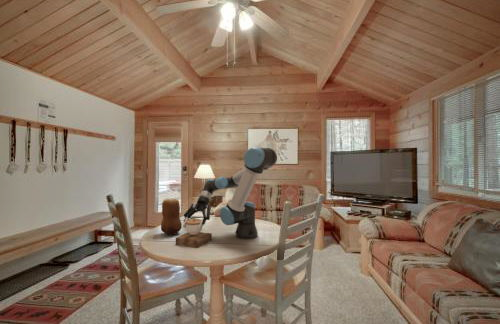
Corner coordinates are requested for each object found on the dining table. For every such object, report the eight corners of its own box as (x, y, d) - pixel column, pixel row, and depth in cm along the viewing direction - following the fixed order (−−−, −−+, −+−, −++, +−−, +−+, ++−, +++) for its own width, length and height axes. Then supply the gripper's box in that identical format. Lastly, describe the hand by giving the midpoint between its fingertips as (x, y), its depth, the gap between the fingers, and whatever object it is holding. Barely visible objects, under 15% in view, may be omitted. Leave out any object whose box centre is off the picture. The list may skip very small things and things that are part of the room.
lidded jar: (198, 236, 156) (198, 220, 156) (182, 235, 158) (182, 220, 158) (205, 231, 167) (205, 217, 166) (189, 230, 169) (189, 216, 169)
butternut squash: (174, 230, 189) (174, 196, 189) (185, 233, 180) (185, 198, 180) (156, 234, 178) (156, 198, 178) (167, 238, 170) (167, 200, 169)
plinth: (211, 239, 167) (211, 233, 167) (198, 247, 152) (198, 240, 152) (190, 237, 173) (190, 230, 173) (175, 244, 158) (175, 237, 158)
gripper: (221, 203, 173) (210, 232, 158) (191, 201, 181) (178, 229, 166) (218, 196, 168) (205, 226, 153) (187, 194, 176) (173, 223, 161)
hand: (191, 228), depth 160 cm, fingers closed on lidded jar, 11 cm apart
